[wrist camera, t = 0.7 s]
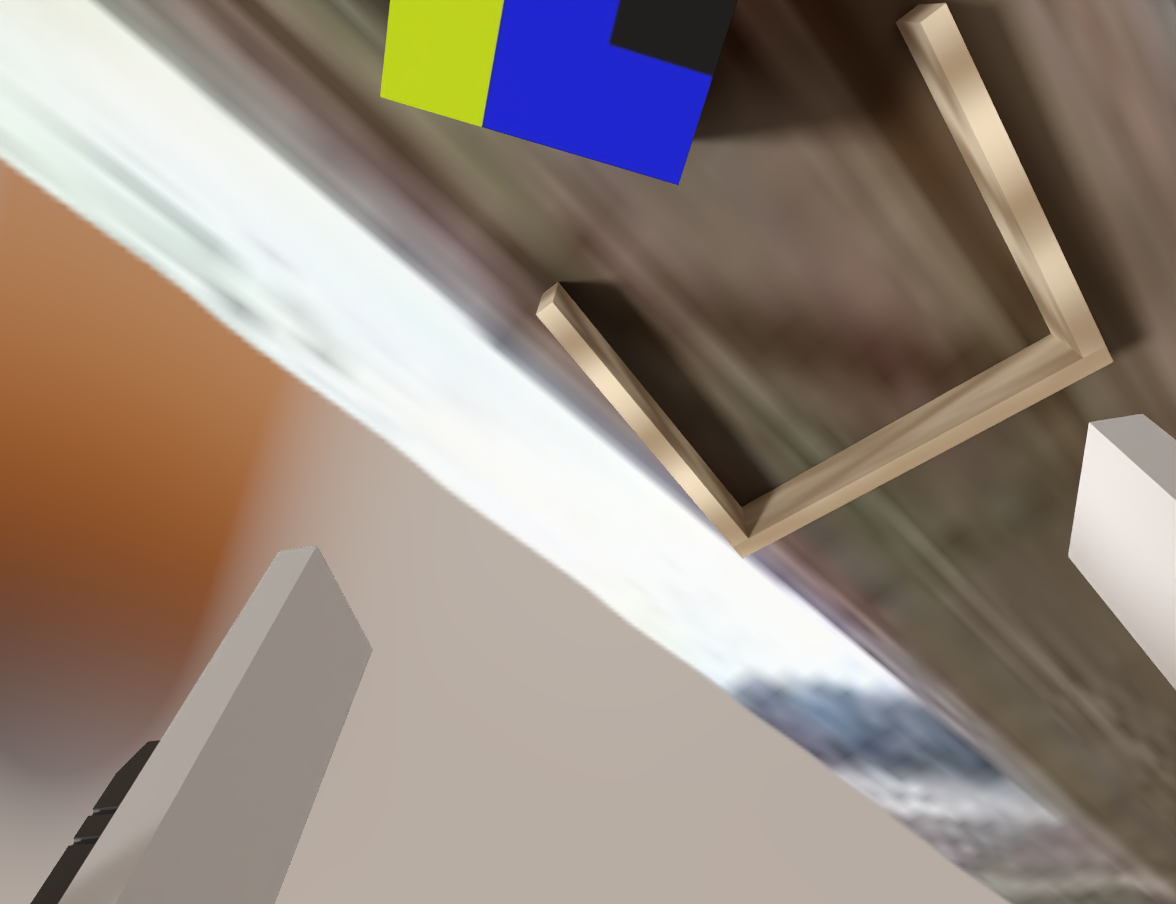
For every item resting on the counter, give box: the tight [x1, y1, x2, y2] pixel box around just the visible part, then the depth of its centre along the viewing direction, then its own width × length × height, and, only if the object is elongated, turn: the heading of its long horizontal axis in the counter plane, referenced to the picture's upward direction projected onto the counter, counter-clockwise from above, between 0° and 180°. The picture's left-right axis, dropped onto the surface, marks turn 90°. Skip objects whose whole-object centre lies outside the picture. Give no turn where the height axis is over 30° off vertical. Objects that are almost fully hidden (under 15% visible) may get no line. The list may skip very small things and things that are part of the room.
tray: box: [536, 3, 1113, 558], centre depth 35 cm, size 18×20×3 cm
